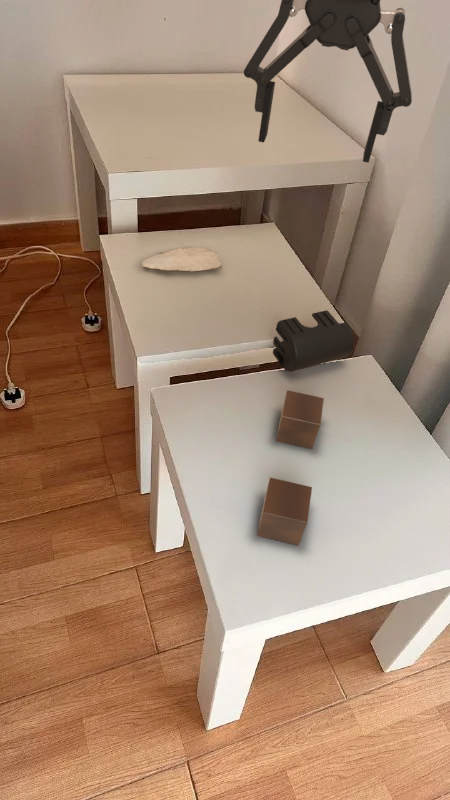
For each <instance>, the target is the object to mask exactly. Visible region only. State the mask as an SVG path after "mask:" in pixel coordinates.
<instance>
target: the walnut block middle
mask: <svg viewBox="0 0 450 800" xmlns="http://www.w3.org/2000/svg"><path fill="white" fill-rule="evenodd" d="M324 400H325V398H324V397H320V396H316V395H312V394H308V393H302V392H298V391H293V390H289V389H288V390H286V393H285V397H284V402H283V406H282V409H281V413H280V417H279V423H278V428H277V433H276V439H275V441H276V442H279V443H283V444H287V445H291V446H292V445H293V446H295V447H299V448H305V449H310V450H313V449H314V446H315V442H316V440H317V436H318V434H319V430H320V427H321V423H322V415H323V408H324V402H325V401H324Z"/></svg>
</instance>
